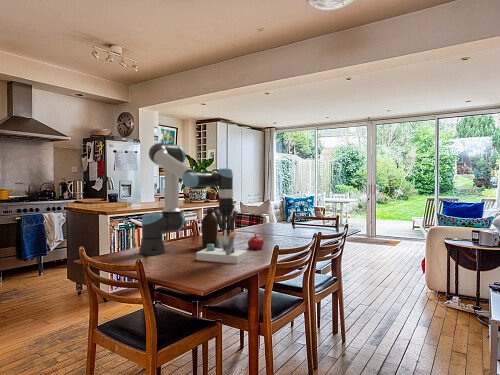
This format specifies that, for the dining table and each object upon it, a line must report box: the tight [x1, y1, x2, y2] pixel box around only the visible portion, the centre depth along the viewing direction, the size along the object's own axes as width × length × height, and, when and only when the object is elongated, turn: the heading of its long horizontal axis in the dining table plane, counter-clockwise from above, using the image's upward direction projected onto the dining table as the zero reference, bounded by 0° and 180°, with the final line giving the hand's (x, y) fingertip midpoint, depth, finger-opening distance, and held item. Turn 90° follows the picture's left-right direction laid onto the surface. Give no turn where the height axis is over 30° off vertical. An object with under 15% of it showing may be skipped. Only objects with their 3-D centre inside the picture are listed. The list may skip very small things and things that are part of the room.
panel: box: [195, 246, 248, 265], centre depth 185 cm, size 24×14×7 cm, turn 70°
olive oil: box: [200, 207, 219, 249], centre depth 219 cm, size 11×11×25 cm
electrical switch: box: [215, 236, 229, 249], centre depth 203 cm, size 9×5×9 cm, turn 141°
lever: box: [228, 231, 237, 252], centre depth 179 cm, size 2×4×10 cm, turn 160°
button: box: [207, 244, 215, 251], centre depth 189 cm, size 4×4×5 cm
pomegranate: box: [247, 233, 264, 250], centre depth 213 cm, size 10×10×9 cm
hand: (226, 242), depth 180 cm, fingers closed
